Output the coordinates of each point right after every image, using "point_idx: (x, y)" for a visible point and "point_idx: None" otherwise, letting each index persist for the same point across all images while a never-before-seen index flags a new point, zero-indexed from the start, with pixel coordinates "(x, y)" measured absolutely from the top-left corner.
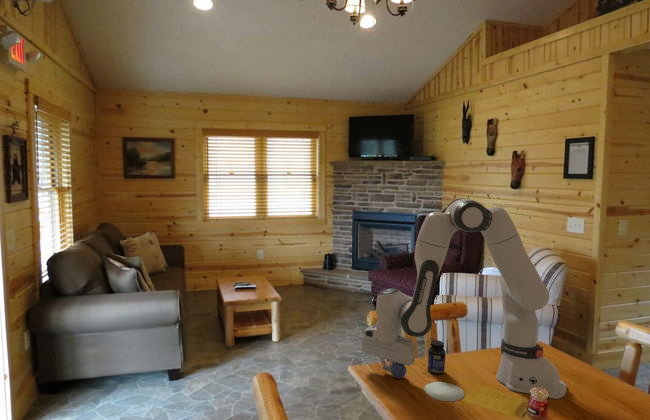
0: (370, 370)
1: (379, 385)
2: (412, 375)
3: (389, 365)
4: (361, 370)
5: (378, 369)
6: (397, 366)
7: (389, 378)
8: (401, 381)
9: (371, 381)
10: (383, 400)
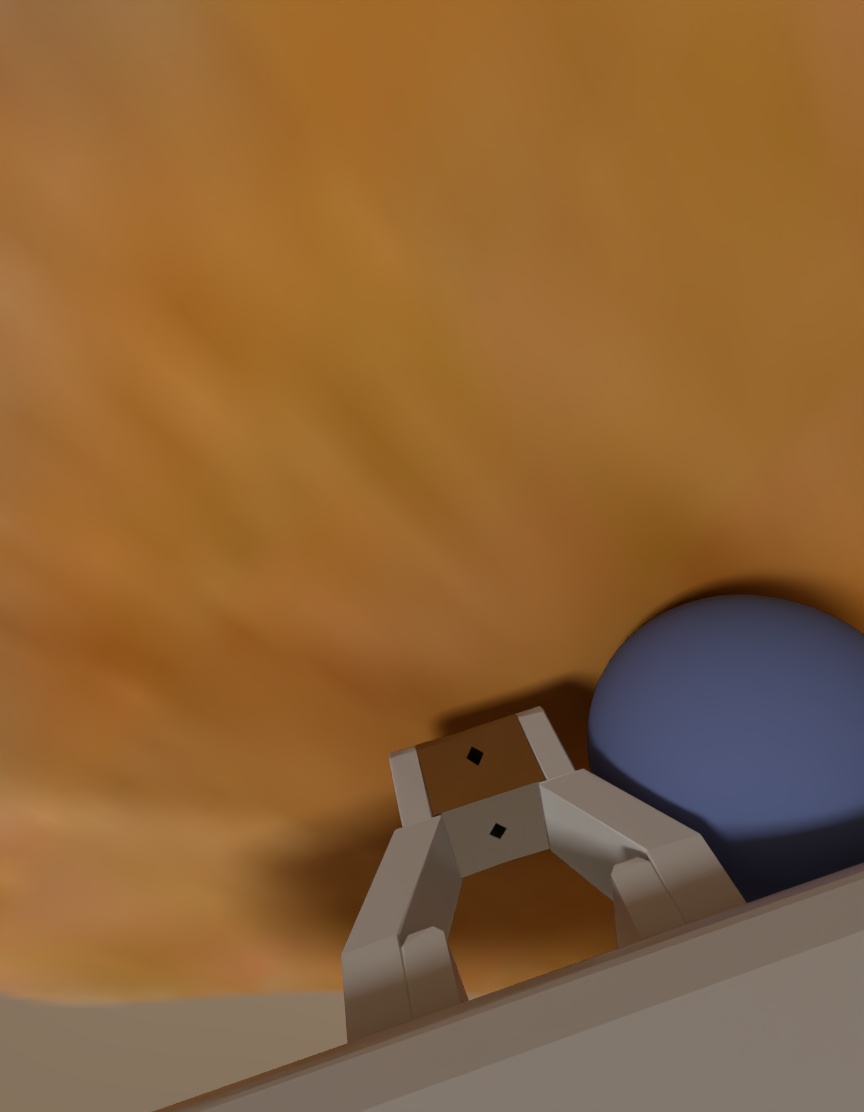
0: (191, 844)
1: (589, 923)
2: (828, 402)
3: (602, 882)
4: (111, 937)
5: (237, 732)
6: None
7: (579, 762)
8: None
9: (463, 950)
10: None
